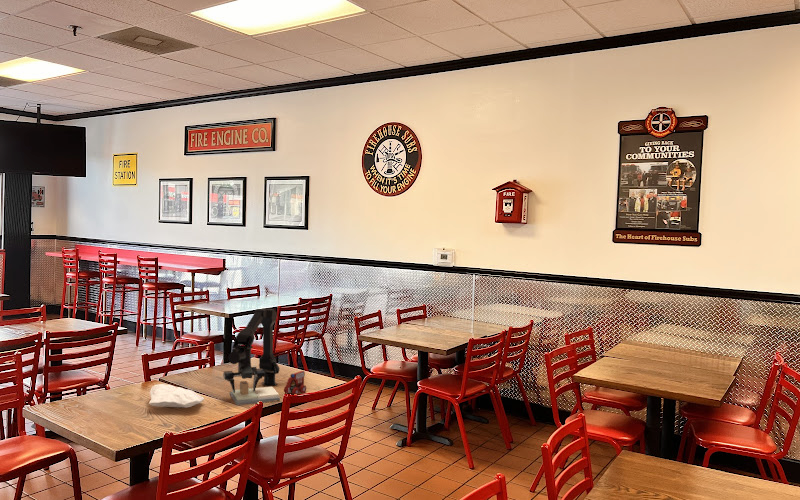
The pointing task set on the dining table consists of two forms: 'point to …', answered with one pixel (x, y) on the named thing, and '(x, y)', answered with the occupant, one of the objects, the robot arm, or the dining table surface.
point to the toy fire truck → (296, 383)
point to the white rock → (173, 396)
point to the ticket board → (259, 396)
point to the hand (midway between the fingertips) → (244, 391)
